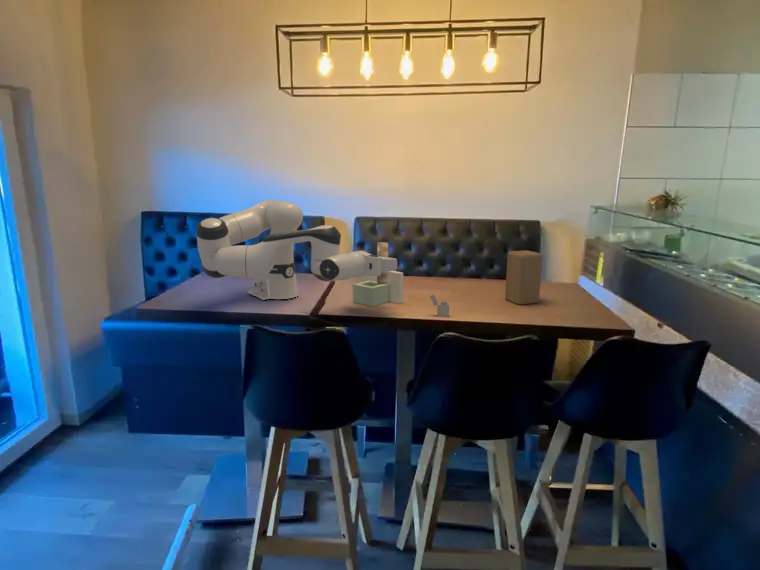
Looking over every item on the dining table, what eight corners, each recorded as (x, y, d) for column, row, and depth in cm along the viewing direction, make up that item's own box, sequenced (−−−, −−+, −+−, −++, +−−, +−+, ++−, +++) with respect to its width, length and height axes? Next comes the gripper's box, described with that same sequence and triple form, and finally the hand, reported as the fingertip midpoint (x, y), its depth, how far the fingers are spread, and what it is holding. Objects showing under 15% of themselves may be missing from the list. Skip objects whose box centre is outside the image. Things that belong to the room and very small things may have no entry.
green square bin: (352, 302, 198) (352, 284, 196) (369, 297, 206) (369, 280, 204) (372, 306, 192) (372, 288, 190) (389, 301, 199) (389, 283, 198)
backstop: (327, 307, 195) (327, 273, 192) (363, 296, 211) (364, 265, 208) (367, 317, 182) (367, 281, 179) (402, 305, 198) (403, 272, 195)
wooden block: (524, 297, 212) (527, 249, 208) (539, 303, 203) (543, 253, 199) (503, 299, 209) (507, 251, 204) (518, 305, 200) (522, 255, 195)
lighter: (448, 315, 186) (449, 294, 184) (448, 316, 184) (449, 295, 182) (429, 314, 187) (429, 293, 185) (428, 315, 185) (429, 294, 183)
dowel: (374, 283, 189) (375, 242, 186) (381, 281, 192) (381, 241, 189) (383, 284, 187) (383, 243, 183) (389, 283, 190) (390, 242, 186)
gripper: (337, 268, 185) (362, 263, 195) (382, 276, 172) (406, 270, 183) (337, 251, 183) (362, 247, 194) (382, 257, 171) (406, 253, 181)
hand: (384, 258), depth 188 cm, fingers closed on dowel, 4 cm apart
